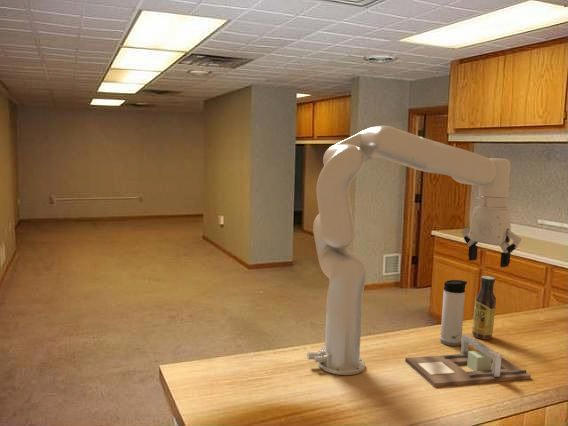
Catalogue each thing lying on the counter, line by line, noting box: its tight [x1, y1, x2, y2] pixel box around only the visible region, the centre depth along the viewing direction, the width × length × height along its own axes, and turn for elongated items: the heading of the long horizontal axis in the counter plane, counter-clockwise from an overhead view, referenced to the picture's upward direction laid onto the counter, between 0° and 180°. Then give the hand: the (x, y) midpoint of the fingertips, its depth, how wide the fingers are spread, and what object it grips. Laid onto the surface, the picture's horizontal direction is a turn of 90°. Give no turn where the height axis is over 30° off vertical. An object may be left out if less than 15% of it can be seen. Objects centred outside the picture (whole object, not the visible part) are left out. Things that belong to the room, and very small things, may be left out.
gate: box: [460, 333, 503, 377], centre depth 139 cm, size 2×16×6 cm, turn 13°
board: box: [404, 351, 532, 388], centre depth 139 cm, size 28×16×2 cm, turn 103°
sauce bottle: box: [471, 275, 497, 340], centre depth 164 cm, size 7×6×20 cm
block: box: [466, 350, 492, 371], centre depth 140 cm, size 4×4×4 cm
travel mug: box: [439, 279, 468, 347], centre depth 158 cm, size 6×7×20 cm
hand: (488, 263), depth 143 cm, fingers open, 9 cm apart
